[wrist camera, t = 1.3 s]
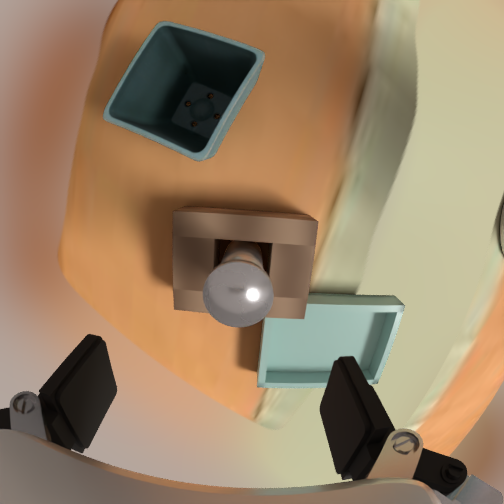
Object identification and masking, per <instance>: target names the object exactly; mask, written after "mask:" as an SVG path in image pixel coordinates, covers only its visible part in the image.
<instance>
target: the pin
mask: <svg viewBox="0 0 504 504" xmlns="http://www.w3.org/2000/svg"><path fill="white" fill-rule="evenodd" d="M273 297H274V294H273V287H272V283H271V280H270V278H269V276H268V274H267V273H266V272H265V271H264V270H263V261H262V252H261V249H260V247H259V245H258V244H257V243H256V242H253V241H240V240H233V241H232V242H231V243H230V244H229V245H228V247H227V249H226V251H225V254H224V256H223V259H222V261H221V264H219V265H218V266H216V267H215V268H214V269H213V270H212V271H211V272H210V274H209V275H208V277H207V279H206V282H205V284H204V287H203V301H204V304H205V307H206V309H207V310H208V312H209V313H210V315H211V316H212V317H213V318H215V319H216V320H217V321H219V322H220V323H222V324H225V325H227V326H231V327H247V326H251V325H254V324H256V323H258V322H259V321H261V320H262V319H263V318H264V317H265V316H266V315H267V314H268V312H269V311H270V309H271V307H272V304H273Z"/></svg>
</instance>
